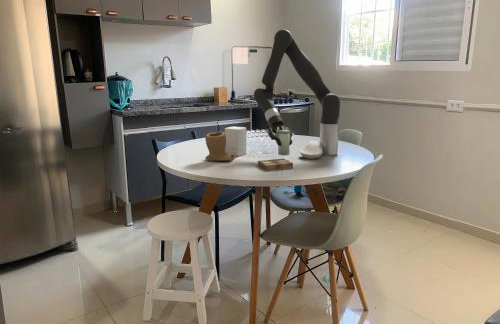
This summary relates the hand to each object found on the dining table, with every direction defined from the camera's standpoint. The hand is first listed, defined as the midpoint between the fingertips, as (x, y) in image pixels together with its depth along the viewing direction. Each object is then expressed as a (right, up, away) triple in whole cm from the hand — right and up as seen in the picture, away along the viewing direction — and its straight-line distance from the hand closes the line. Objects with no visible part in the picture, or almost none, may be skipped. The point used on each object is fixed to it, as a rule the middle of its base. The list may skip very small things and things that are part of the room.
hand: (285, 144), depth 193 cm
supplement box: (-26, -5, +16) cm, 31 cm away
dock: (-6, -11, -10) cm, 16 cm away
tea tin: (-1, -5, +3) cm, 6 cm away
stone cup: (-34, -9, +2) cm, 35 cm away
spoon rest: (+16, -6, +15) cm, 23 cm away
